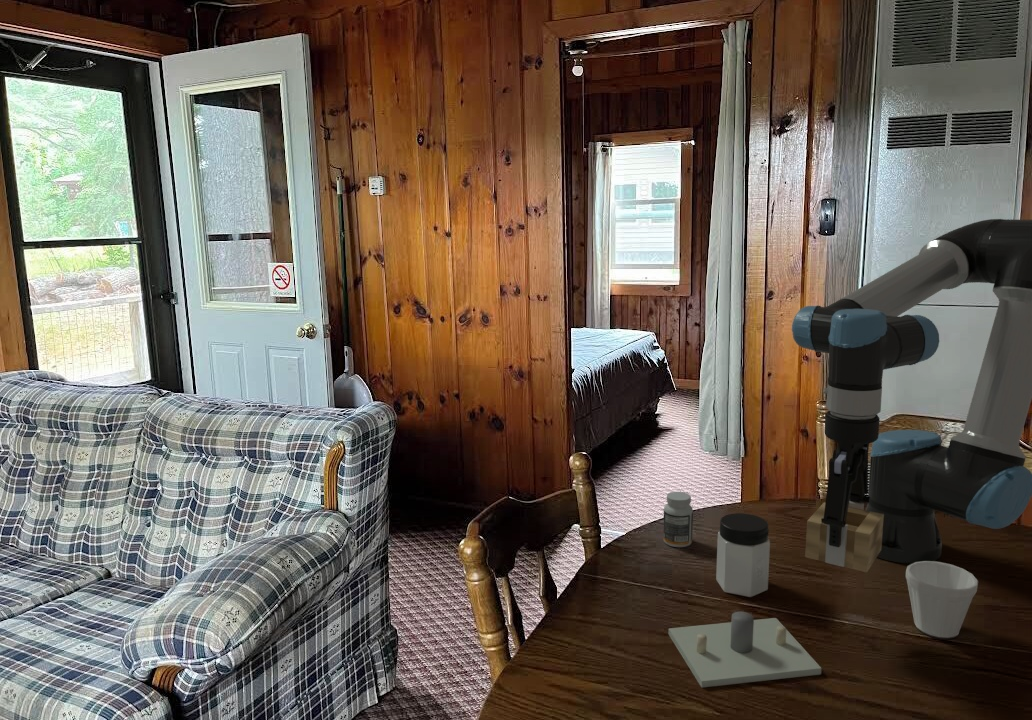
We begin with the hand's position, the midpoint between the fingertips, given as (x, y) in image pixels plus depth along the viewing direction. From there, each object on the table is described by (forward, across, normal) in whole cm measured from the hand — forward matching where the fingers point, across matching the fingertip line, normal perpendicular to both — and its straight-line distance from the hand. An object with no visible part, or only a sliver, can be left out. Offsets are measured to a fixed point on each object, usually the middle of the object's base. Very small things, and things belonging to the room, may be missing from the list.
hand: (843, 551), depth 122 cm
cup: (+13, -8, +13) cm, 20 cm away
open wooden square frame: (0, 0, 0) cm, 0 cm away
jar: (+13, -5, -18) cm, 23 cm away
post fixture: (+13, +16, -10) cm, 23 cm away
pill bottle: (+13, -15, -35) cm, 40 cm away
